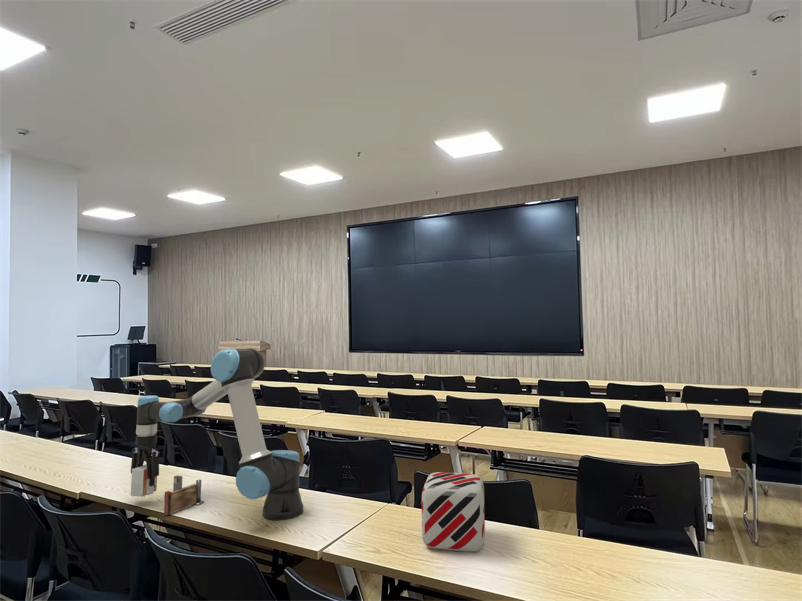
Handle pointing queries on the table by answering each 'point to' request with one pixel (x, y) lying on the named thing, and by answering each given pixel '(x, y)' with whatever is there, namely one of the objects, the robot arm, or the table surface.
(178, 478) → the latch post
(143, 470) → the small box
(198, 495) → the pivot post
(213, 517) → the table surface
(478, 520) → the decorative cube
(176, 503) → the gate
